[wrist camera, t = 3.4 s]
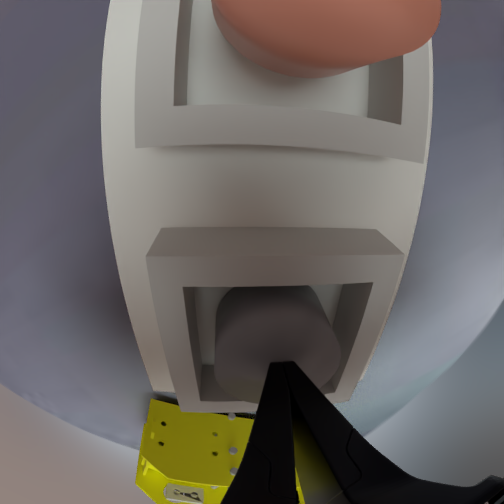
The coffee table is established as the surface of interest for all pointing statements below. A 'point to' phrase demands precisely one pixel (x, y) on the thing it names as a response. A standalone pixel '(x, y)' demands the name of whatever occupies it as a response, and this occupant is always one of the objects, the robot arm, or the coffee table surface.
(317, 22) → the pink rounded ball
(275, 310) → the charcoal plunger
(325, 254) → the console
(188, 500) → the yellow toy chassis
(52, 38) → the coffee table surface
